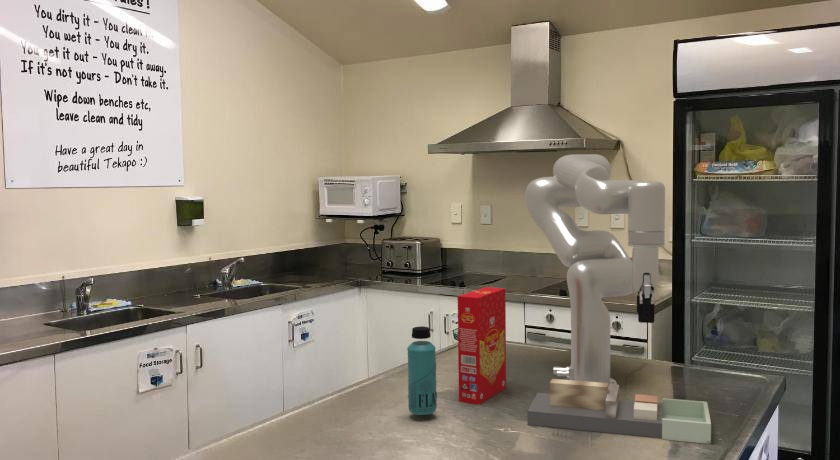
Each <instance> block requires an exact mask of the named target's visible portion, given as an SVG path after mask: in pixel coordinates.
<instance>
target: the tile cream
mask: <svg viewBox="0 0 840 460" xmlns="http://www.w3.org/2000/svg"><path fill="white" fill-rule="evenodd" d="M634 419H644V420H655V421H657V404H651V403H639V402H635V403H634Z"/></svg>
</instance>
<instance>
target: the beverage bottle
mask: <svg viewBox="0 0 840 460" xmlns="http://www.w3.org/2000/svg"><path fill="white" fill-rule="evenodd" d="M431 336H432V334H431V328H430V327H428V326H423V325H422V326H414V327H413V328H412V330H411V338H413V339H416V341H412V343H410V344H409V345H408V347H407V348H406V349H407V350H406V351H407V376H408V377H407V379H408V381H407V388H408V389H407V390H408V391H407V392H408V394H407V403H408V405H407V406H408V411H409V413H410V414H413V415H419V416H424V415H426V416H427V415H431V414H434V413H435V412H436V411H437V405H438V403H437V402H438V400H437V399H438V393H437V388H438V387H437V386H438V384H437V373H436V372H437V359H436V357H437V356H436V346H435V345H434V344H433V343H432V342H431V341H428V340H427V339H429V338H431Z"/></svg>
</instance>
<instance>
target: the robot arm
mask: <svg viewBox="0 0 840 460" xmlns="http://www.w3.org/2000/svg"><path fill="white" fill-rule="evenodd" d="M552 173H553V176H543V177H538V178H536V179H533V180H531V181H530V182H529V183H528V184H527V187H526V189H525V203H526V208H527V211H528V213H529V215H530V217H531V219H532V221H533V222H534V223H535V224H536V226H537V227H538V228H539V230H541V231H542V233H543V234H544V236H546V239H547V241H548V242H549V243H550V246H551V248H552V249H553V251H554V253H555V254H556V257H557V258H558V259H559V260H560V262H561V263H562V265H564V266H565V267H567V268H568V269H567V273H566V283H567V289H568V295H569V301H570V337H571V338H570V366H565V367H562V366H553V370H552V371H553V374H554V375H556V377H566V378H564V380H574V381H587V382H600V383H608V389H609V386H610V384H616V385H618V384H617V381H616V380H615V379H614V378H611V315H610V314H611V313H610V312H609V309H608V308H607V306H606V305H605V303H604V302H603V300H602V299H604V298H613V297H622V296H623V297H624V296H629V295H631V294H633V293H634V294H636V292H637V295H636V313H637V314H638V315H637V316H638V319H637V320H638V322H639V323H642V324H643V323H645V324H653V323H655V309H656V308H655V305H656V304H655V303H654V301H655V299H654V295H655V293H656V292H657V289H658V276H659V248H663V247H665V237H666V235H665V234H666V233H665V232H666V231H665V229H666V228H665V227H666V225H665V224H666V188H665V185H664V183H663V182H661V181H656V180H655V181H654V180H653V181H651V180H649V181H644V180H641V179H629V180H628V179H627V180H626V179H616V180H615V179H613V180H610V179H611V176H612V175H611V174H612V166H611V164H610V161H608V159H607V158H606V157H605V156H603V155H601V154H594V153H590V154H589V153H588V154H581V153H579V154H577V153H576V154H567V155H563V156H562V157H559V158H558V159H557V160H556V161H555V163H554V165H553V167H552ZM580 207H582V208H584V209H585V210H587V211H589V212H591V213H593V214H598V215H621V214H622V215H624V214H625V215H627V246H628V247H632V252H631V253H632V254H631V255H632V256H631V258H630V256H629V254H628V252H627V251H626V250H625V247H624V246H622V244H621V242H620V241H619V240H618V238H617V237H616V236H615V235H614V234H613V233H611V232H609V231H607V230H604V229H603V230H600V229H597V230H594V229H593V230H584V229H582V228H580V227H579V225H578V224H577V222H576V221H575V220H574V218H573V217H572V216H571V215H569V214H568V213H567V212H565V211H563V210H562V209H560V208H580Z"/></svg>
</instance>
